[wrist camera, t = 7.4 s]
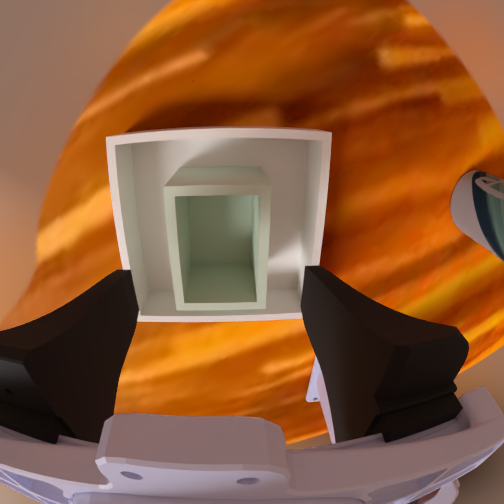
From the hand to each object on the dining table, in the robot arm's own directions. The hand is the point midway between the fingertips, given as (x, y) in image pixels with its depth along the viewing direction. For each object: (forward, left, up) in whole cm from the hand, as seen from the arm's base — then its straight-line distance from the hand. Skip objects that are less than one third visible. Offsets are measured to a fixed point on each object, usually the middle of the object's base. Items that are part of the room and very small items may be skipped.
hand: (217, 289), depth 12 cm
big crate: (0, 0, -9) cm, 9 cm away
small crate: (0, 0, -8) cm, 8 cm away
